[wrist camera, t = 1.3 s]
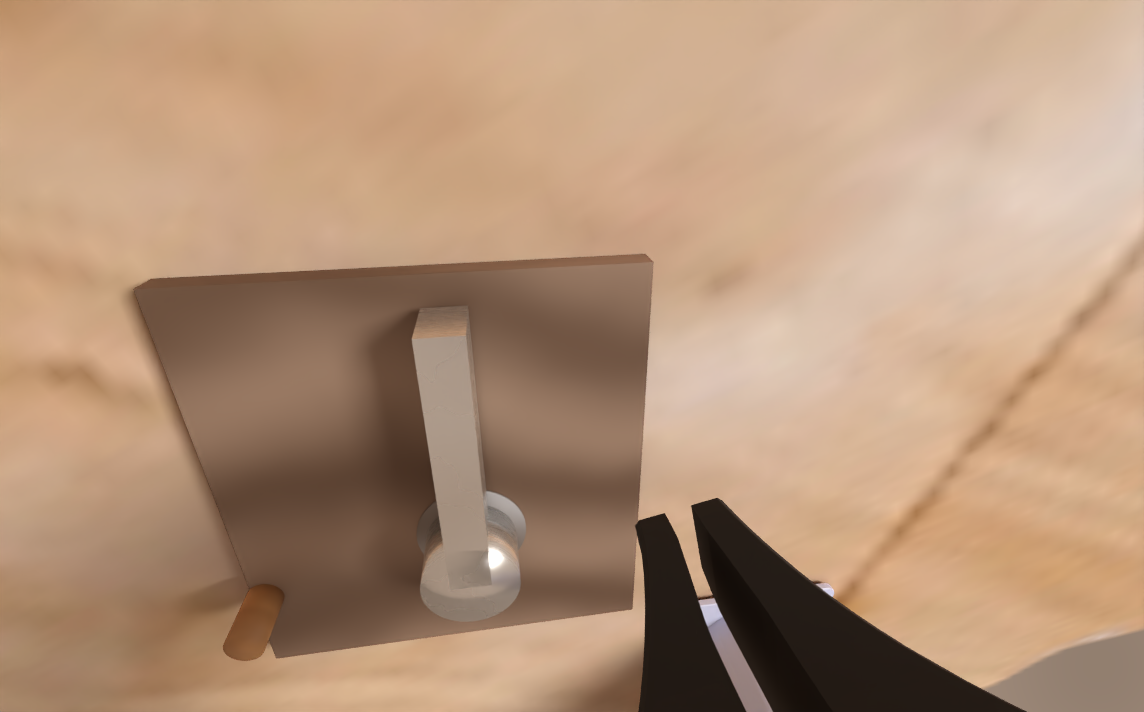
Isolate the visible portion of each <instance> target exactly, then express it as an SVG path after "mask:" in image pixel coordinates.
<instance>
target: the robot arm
mask: <svg viewBox="0 0 1144 712" xmlns="http://www.w3.org/2000/svg"><path fill="white" fill-rule="evenodd" d="M691 507H692V513H693V519H694V525H695V530H696V536H697V542H698V548H699V554H700V560H701V565H702V569H703V571H704V574H705V576H706V579H707V581H708V584H709V586H710V589H711V591H712V594H713V596H714V598H711V599H704V600H698V598H697V595H696V592H695V589H694V586H693V582H692V579H691V576H690V573H689V570H688V567H687V564H686V561H685V558H684V555H683V552H682V549H681V546H680V543H679V540H678V538H677V536H676V534H675V532H674V530H673V528H672V526H671V524H670V522H669V520H668V518H667V517H666V515H665V513H663V514H660V515H657V516H653V517H650V518H646V519H643V520H639V521H638V522H637V524H636V525H635V528H636V532H637V537H638V541H639V545H640V549H641V553H642V560H643V570H644V586H645V643H644V661H643V675H642V685H641V696H640V704H639V712H1026V711H1024V710H1022V709H1020V708H1018V707H1016V706H1014V705H1012V704H1010V703H1008V702H1006V701H1004V700H1002V699H1000V698H998V697H996V696H994V695H992V694H990V693H989V692H987V691H985V690H983V689H981V688H979V687H977V686H975V685H973V684H971V683H969V682H967V681H966V680H964V679H962V678H960V677H959V676H957V675H955V674H953V673H952V672H950V671H948V670H946V669H945V668H943V667H941V666H939V665H938V664H936V663H934V662H932V661H931V660H929V659H927V658H925V657H923V656H922V655H920V654H918V653H916V652H915V651H913V650H911V649H910V648H908V647H906V646H905V645H903V644H901V643H900V642H898V641H897V640H895V639H893V638H892V637H890V636H889V635H887V634H886V633H884V632H882V631H881V630H879V629H878V628H876V627H875V626H873V625H872V624H870V623H869V622H867V621H866V620H864V619H863V618H861V617H860V616H858V615H857V614H855V613H854V612H852V611H851V610H850V609H848V608H847V607H845V606H844V605H843V604H841V603H840V602H838V601H837V600H836V599H834V598H833V595H834V590H833V589H832V587H831V586H830V584H828V583H820V584H814V583H813V582H812V581H810V580H809V579H808V578H807V577H805V576H804V575H803V574H802V573H800V572H799V571H798V570H797V569H796V568H794V567H793V566H792V565H791V564H790V563H788V562H787V561H786V560H785V559H784V558H783V557H781V556H780V555H779V554H778V553H777V552H775V551H774V550H773V549H772V548H771V547H770V546H769V545H767V544H766V543H765V542H764V541H763V540H762V539H761V538H760V537H759V536H757V535H756V534H755V533H754V532H753V531H752V530H751V529H750V528H749V527H748V526H747V525H746V524H745V523H744V522H743V521H742V520H741V519H740V518H739V517H738V516H737V515H736V514H735V513H734V512H733V511H732V510H731V509H730V508H729V507H728V506H727V505H726V504H725V503H724V502H723V501H722V500H720V499H718V498H715V499H712V500H708V501H705V502H701V503H698V504H694V505H691Z"/></svg>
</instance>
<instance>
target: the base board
mask: <svg viewBox="0 0 1144 712" xmlns="http://www.w3.org/2000/svg"><path fill="white" fill-rule="evenodd" d="M652 277H653V261H652V260H651V259H650V258H649V257H648V256H647V255H646V254H637V255H617V256H597V257H578V258H558V259H538V260H518V261H498V262H478V263H458V264H438V265H418V266H398V267H378V268H358V269H338V270H318V271H299V272H279V273H259V274H239V275H219V276H199V277H179V278H159V279H150V280H149V281H147V282H145V283H143V284H142V285H140V286H138V287H136V288H135V289H133V290H134V293H135V295H136V298H137V300H138V303H139V305H140V308H141V311H142V313H143V316H144V318H145V321H146V323H147V326H148V329H149V331H150V334H151V336H152V339H153V342H154V344H155V347H156V349H157V352H158V354H159V357H160V360H161V362H162V365H163V367H164V370H165V372H166V375H167V378H168V380H169V383H170V385H171V388H172V391H173V393H174V396H175V398H176V401H177V403H178V406H179V409H180V411H181V414H182V416H183V419H184V422H185V424H186V427H187V429H188V432H189V434H190V437H191V440H192V442H193V445H194V447H195V450H196V452H197V455H198V458H199V460H200V463H201V465H202V468H203V471H204V473H205V476H206V478H207V481H208V483H209V486H210V489H211V491H212V494H213V496H214V499H215V501H216V504H217V507H218V509H219V512H220V514H221V517H222V520H223V522H224V525H225V527H226V530H227V532H228V535H229V538H230V540H231V543H232V545H233V548H234V550H235V553H236V556H237V558H238V561H239V563H240V566H241V569H242V571H243V574H244V576H245V579H246V581H247V584H248V587H249V589H250V590H249V591H248V593H247V595H246V597H245V599H244V602H243V604H242V606H241V608H240V610H239V612H238V614H237V617H236V619H235V621H234V623H233V625H232V627H231V630H230V632H229V634H228V636H227V638H226V640H225V643H224V645H223V650H224V652H225V654H226V655H228V656H229V657H231V658H233V659H236V660H241V661H248V660H253V659H256V658H258V657H260V656H261V655H262V654H263V653H264V651H265V648H266V645H267V643H268V640H269V641H270V643H271V646H272V648H273V651H274V654H275V656H276V658H284V657H291V656H298V655H305V654H313V653H320V652H327V651H334V650H342V649H349V648H356V647H363V646H370V645H378V644H385V643H392V642H399V641H407V640H414V639H421V638H428V637H436V636H443V635H450V634H457V633H465V632H472V631H479V630H486V629H493V628H501V627H508V626H515V625H522V624H530V623H537V622H544V621H551V620H559V619H566V618H573V617H580V616H587V615H595V614H602V613H609V612H616V611H624V610H631V609H632V607H633V590H634V574H635V557H636V541H637V532H636V528H635V525H636V524H637V522H638V508H639V491H640V475H641V458H642V442H643V425H644V409H645V392H646V376H647V359H648V343H649V327H650V310H651V294H652ZM452 306H468V313H469V323H470V333H471V343H472V353H473V363H474V373H475V383H476V393H477V403H478V413H479V423H480V433H481V443H482V453H483V463H484V473H485V483H486V493H487V503H488V506H491V507H494V508H497V509H499V510H500V511H502V512H504V513H505V514H506V515H507V516H508V517H510V519H511V520H512V521H513V523H514V525H515V528H516V532H517V543H518V555H519V567H520V580H521V586H520V591H519V593H518V595H517V597H516V599H515V600H514V601H513V603H512V604H511V605H510V606H509V607H508V608H506V609H505V610H504V611H502V612H500V613H499V614H497V615H495V616H492V617H490V618H487V619H483V620H478V621H470V622H461V621H453V620H449V619H446V618H443V617H440V616H438V615H437V614H435V613H433V612H432V611H431V610H430V609H429V608H428V607H427V606H426V605H425V604H424V602H423V600H422V597H421V594H420V585H421V577H422V568H423V560H424V552H425V544H426V536H427V532H428V529H429V527H430V525H431V524H432V522H433V521H434V520H435V519H436V518H437V517H438V516H439V514H438V508H437V501H436V495H435V488H434V481H433V475H432V468H431V462H430V455H429V449H428V442H427V436H426V429H425V423H424V416H423V410H422V403H421V397H420V390H419V384H418V377H417V371H416V364H415V358H414V351H413V345H412V336H413V333H414V329H415V325H416V322H417V318H418V314H419V311H420V308H435V307H452Z"/></svg>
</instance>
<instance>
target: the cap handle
mask: <svg viewBox="0 0 1144 712" xmlns="http://www.w3.org/2000/svg"><path fill="white" fill-rule="evenodd" d="M412 345H413V351H414V358H415V364H416V371H417V377H418V384H419V390H420V397H421V403H422V410H423V416H424V423H425V429H426V436H427V442H428V449H429V455H430V462H431V468H432V475H433V481H434V488H435V495H436V501H437V508H438V514H439V516H438V517H437V518H436V519H435V520H434V521H433V522H432V524H431V525H430V527H429V529H428V532H427V536H426V544H425V552H424V560H423V568H422V577H421V585H420V594H421V597H422V600H423V602H424V604H425V605H426V606H427V607H428V608H429V609H430V610H431V611H432V612H433V613H435V614H437V615H438V616H440V617H443V618H446V619H449V620H453V621H461V622H470V621H478V620H483V619H487V618H490V617H492V616H495V615H497V614H499V613H500V612H502V611H504V610H505V609H506V608H508V607H509V606H510V605H511V604H512V603H513V601H514V600H515V599H516V597H517V595H518V593H519V591H520V586H521V580H520V567H519V555H518V543H517V532H516V528H515V525H514V523H513V521H512V520H511V519H510V517H508V516H507V515H506V514H505V513H504V512H502V511H500V510H499V509H497V508H494V507H491V506H488V503H487V493H486V483H485V473H484V463H483V453H482V443H481V433H480V423H479V413H478V403H477V393H476V383H475V373H474V363H473V353H472V343H471V333H470V323H469V313H468V306H452V307H435V308H420V311H419V314H418V318H417V322H416V325H415V329H414V333H413V336H412Z"/></svg>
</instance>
